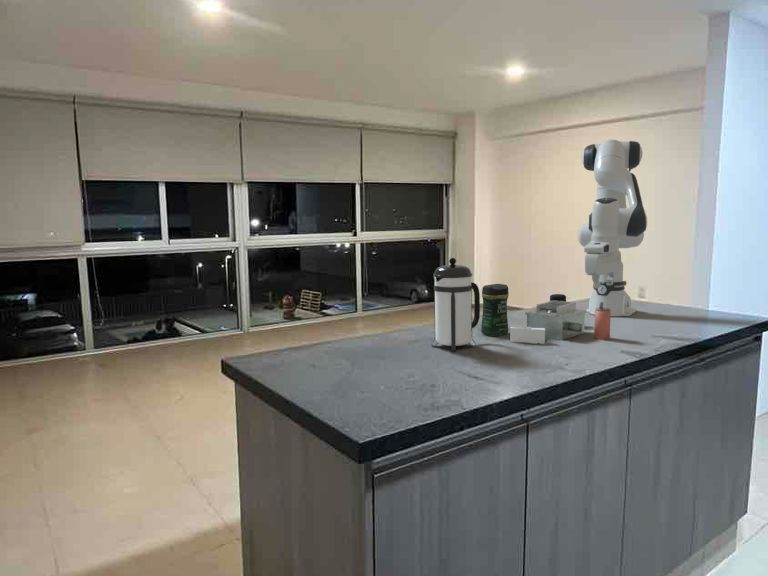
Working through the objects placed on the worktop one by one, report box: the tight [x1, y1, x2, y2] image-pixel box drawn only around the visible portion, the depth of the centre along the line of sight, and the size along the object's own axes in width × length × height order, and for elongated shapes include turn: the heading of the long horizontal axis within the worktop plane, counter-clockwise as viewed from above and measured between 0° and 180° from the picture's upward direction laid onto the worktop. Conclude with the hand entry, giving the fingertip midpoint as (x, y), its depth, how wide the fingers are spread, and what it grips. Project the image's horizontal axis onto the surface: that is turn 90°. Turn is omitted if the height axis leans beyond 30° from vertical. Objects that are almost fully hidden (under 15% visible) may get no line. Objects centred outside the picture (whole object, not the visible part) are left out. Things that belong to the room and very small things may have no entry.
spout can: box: [593, 302, 611, 341], centre depth 188 cm, size 5×5×13 cm
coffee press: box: [430, 257, 481, 352], centre depth 183 cm, size 17×16×30 cm
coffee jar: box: [480, 283, 509, 337], centre depth 199 cm, size 10×8×19 cm
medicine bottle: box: [549, 293, 567, 302], centre depth 213 cm, size 7×7×12 cm
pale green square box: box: [524, 300, 587, 341], centre depth 197 cm, size 17×18×11 cm
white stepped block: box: [509, 326, 546, 345], centre depth 186 cm, size 15×11×6 cm
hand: (603, 286), depth 187 cm, fingers open, 8 cm apart
